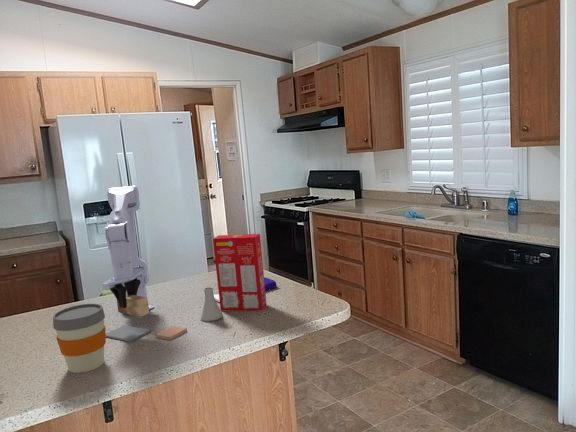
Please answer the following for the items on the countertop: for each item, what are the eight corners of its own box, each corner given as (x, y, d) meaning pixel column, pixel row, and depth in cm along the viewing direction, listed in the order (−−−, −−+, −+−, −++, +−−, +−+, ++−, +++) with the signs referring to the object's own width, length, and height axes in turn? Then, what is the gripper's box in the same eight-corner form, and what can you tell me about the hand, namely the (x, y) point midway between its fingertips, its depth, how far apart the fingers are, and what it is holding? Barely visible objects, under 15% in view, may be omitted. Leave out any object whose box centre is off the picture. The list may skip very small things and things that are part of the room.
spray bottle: (263, 276, 187) (207, 291, 173) (278, 281, 178) (221, 298, 165) (264, 283, 187) (208, 299, 174) (279, 288, 178) (222, 306, 165)
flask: (218, 322, 148) (215, 291, 147) (197, 322, 150) (193, 292, 148) (225, 313, 155) (222, 284, 154) (205, 313, 157) (202, 285, 155)
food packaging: (266, 305, 160) (259, 233, 157) (262, 310, 155) (255, 236, 152) (225, 305, 164) (218, 235, 160) (220, 310, 159) (212, 238, 155)
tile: (155, 334, 140) (170, 337, 137) (172, 325, 146) (186, 328, 143) (156, 338, 140) (170, 341, 137) (172, 330, 146) (187, 332, 143)
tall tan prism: (118, 312, 145) (116, 296, 144) (125, 308, 147) (124, 293, 146) (141, 316, 140) (139, 300, 139) (148, 313, 142) (147, 297, 142)
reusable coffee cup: (116, 364, 124) (109, 310, 121) (65, 381, 117) (56, 324, 114) (104, 350, 134) (97, 300, 132) (56, 364, 127) (48, 312, 125)
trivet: (103, 336, 144) (103, 334, 144) (124, 326, 151) (124, 325, 151) (130, 342, 138) (130, 340, 138) (151, 331, 145) (150, 330, 145)
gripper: (111, 269, 134) (118, 315, 136) (149, 257, 146) (154, 298, 148) (95, 268, 137) (101, 312, 140) (133, 256, 150) (138, 296, 152)
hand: (127, 305), depth 144 cm, fingers closed on tall tan prism, 3 cm apart
